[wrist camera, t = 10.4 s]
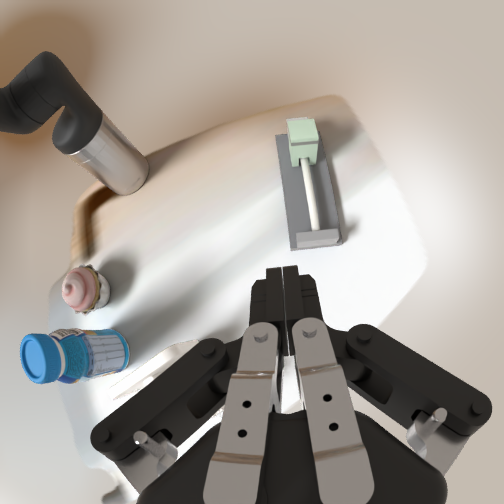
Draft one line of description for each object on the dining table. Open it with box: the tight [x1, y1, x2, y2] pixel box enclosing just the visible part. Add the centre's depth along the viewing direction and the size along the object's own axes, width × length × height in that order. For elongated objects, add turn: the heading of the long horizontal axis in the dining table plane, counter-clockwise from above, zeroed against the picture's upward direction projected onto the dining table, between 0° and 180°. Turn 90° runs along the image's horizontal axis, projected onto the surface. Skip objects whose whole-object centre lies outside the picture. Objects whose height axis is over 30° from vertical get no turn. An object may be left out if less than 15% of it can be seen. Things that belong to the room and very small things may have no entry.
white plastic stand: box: [108, 340, 225, 418], centre depth 36 cm, size 15×11×12 cm
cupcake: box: [62, 264, 110, 316], centre depth 43 cm, size 9×9×10 cm
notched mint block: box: [287, 119, 319, 167], centre depth 42 cm, size 4×4×8 cm
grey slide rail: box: [275, 117, 342, 251], centre depth 43 cm, size 21×8×6 cm, turn 5°
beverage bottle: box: [20, 328, 130, 384], centre depth 35 cm, size 8×8×20 cm
